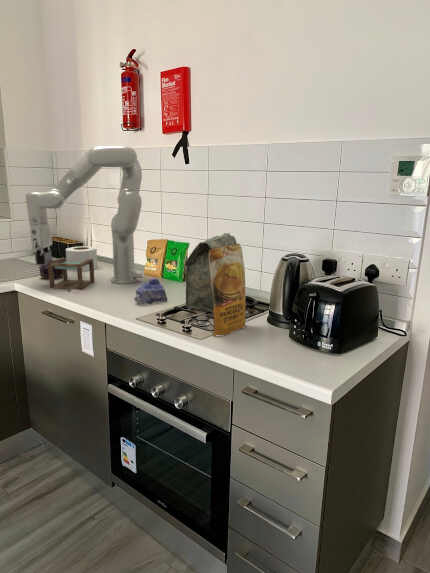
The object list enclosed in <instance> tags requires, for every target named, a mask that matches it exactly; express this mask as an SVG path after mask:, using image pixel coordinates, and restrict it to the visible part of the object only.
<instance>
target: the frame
mask: <svg viewBox="0 0 430 573" xmlns="http://www.w3.org/2000/svg"><path fill="white" fill-rule="evenodd" d="M54 260H55V261H53V260H52V261H53V262H51V263H49V266H48V272H49V278H48V281H49V289H54V290H73V291H74V290H75V291H83V290H85V288H87V287H89V286H90V285H92V284H94V283H95V270H94V262H93V259H88V260H86V261H84V262H82V263H80V264H62V263H64V262H66V261H67V259H66V257H61V258H60V259H59V258H58V260H57V259H54ZM60 262H62V263H60ZM67 262H72V261H67ZM86 264H89V270H90V271H89V280H87V279H84V278H83V271H82V266H84V265H86ZM53 266H61V267H77V271H76V273H77V279H68V278H69V277H68V270H67V269H62V270H63V275H62V280H60V281H58V282H56V283H55V278H54V272H53Z"/></svg>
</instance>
